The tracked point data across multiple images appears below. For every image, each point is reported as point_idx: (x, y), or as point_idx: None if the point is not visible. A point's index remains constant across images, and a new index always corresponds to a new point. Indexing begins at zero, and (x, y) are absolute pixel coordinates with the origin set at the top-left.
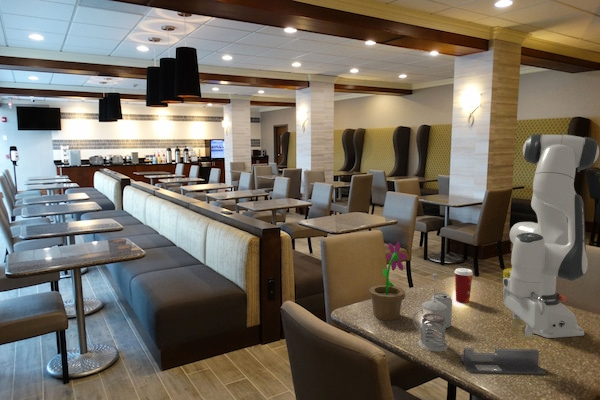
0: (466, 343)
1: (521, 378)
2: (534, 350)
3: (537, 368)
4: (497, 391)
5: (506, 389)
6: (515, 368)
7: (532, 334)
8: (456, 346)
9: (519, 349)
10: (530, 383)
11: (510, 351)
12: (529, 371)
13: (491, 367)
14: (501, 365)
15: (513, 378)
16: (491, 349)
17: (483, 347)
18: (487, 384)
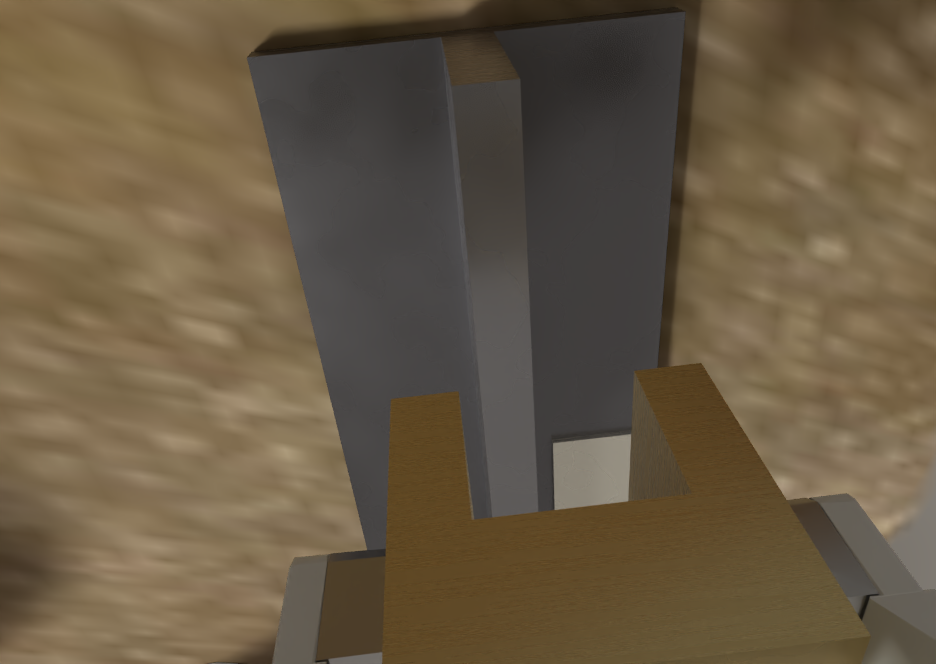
0: (106, 558)
1: (735, 291)
2: (497, 142)
3: (583, 76)
4: (889, 493)
5: (878, 439)
6: (594, 311)
7: (751, 445)
8: (207, 620)
9: (487, 337)
10: (828, 242)
11: (531, 432)
12: (653, 196)
13: (597, 492)
14: (541, 409)
15: (730, 354)
16: (157, 397)
17: (137, 453)
18: None
